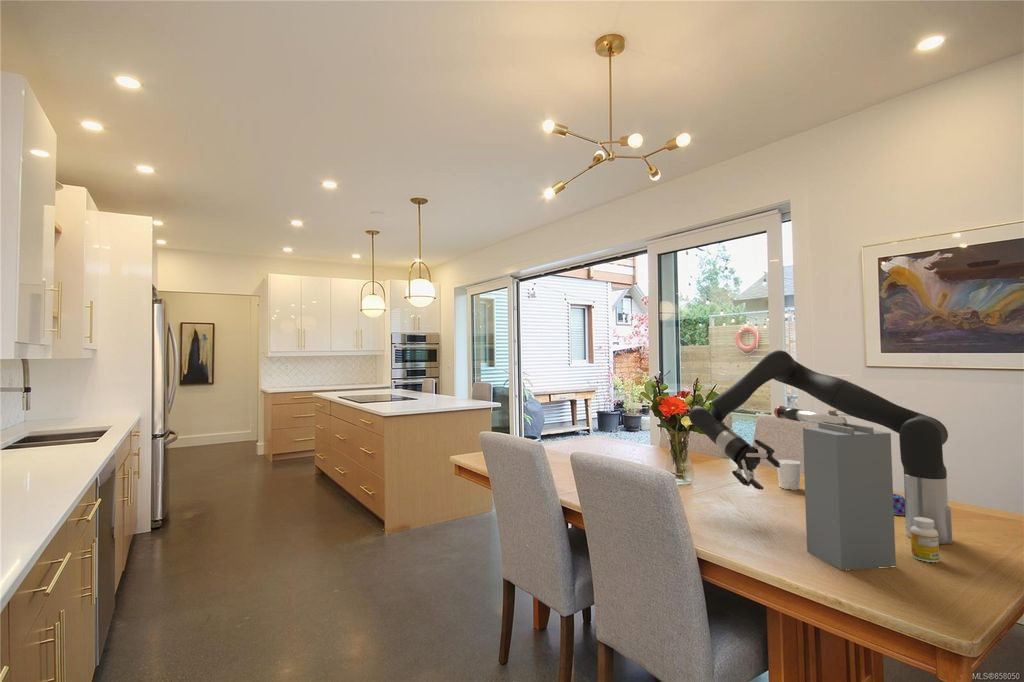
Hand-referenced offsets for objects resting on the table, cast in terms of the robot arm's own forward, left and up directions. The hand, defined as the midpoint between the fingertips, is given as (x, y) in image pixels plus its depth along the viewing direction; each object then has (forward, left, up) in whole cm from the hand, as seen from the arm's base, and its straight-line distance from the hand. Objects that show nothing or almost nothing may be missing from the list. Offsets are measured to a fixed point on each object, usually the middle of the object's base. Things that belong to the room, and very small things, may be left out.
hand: (770, 477), depth 152 cm
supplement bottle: (-33, +14, -14) cm, 39 cm away
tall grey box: (-16, +21, -14) cm, 30 cm away
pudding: (-37, -29, -15) cm, 49 cm away
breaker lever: (-10, +9, +18) cm, 22 cm away
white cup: (-8, -48, -14) cm, 51 cm away
